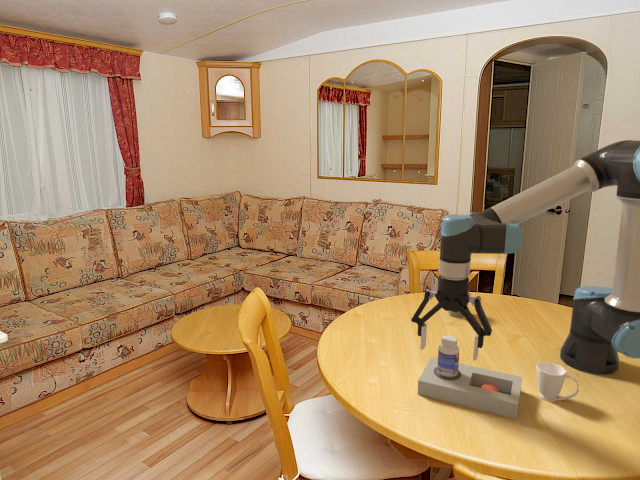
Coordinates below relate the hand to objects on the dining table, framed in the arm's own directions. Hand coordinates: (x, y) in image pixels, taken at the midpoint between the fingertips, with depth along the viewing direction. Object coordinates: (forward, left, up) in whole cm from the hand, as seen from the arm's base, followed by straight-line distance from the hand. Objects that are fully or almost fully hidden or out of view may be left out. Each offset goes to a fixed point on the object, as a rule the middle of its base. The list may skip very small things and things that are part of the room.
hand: (448, 352), depth 119 cm
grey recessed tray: (-6, 0, -10) cm, 12 cm away
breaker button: (-11, 0, -9) cm, 14 cm away
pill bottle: (0, 0, -6) cm, 6 cm away
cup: (-26, -7, -10) cm, 29 cm away
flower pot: (+7, -53, -10) cm, 54 cm away
